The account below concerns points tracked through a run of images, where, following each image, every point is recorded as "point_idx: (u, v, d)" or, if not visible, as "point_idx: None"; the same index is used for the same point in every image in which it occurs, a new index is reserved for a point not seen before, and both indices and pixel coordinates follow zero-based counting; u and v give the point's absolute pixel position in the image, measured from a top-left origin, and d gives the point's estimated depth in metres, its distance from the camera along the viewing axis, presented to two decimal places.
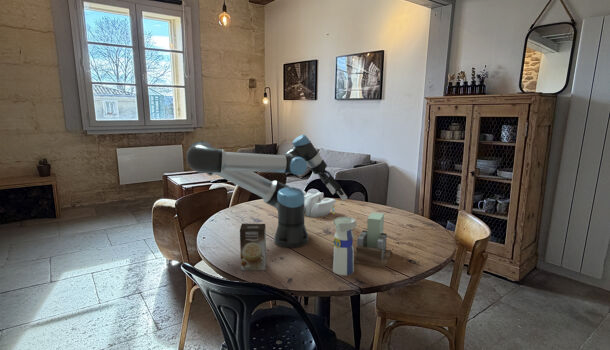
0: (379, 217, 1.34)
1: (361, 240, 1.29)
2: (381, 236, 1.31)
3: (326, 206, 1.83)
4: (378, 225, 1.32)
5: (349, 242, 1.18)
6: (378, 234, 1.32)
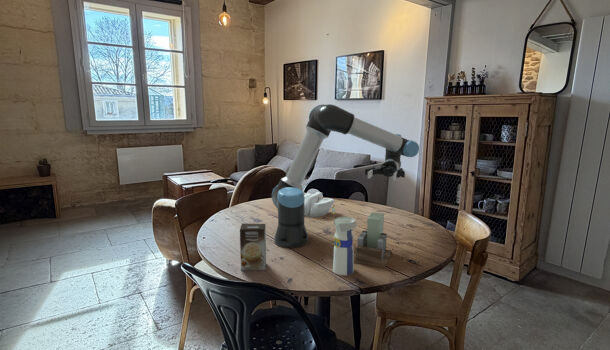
0: (379, 217, 1.34)
1: (361, 240, 1.29)
2: (381, 236, 1.31)
3: (325, 206, 1.83)
4: (378, 225, 1.32)
5: (349, 242, 1.18)
6: (378, 234, 1.32)
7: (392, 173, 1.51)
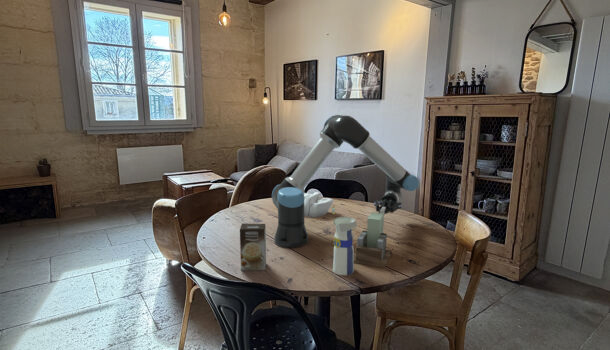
0: (379, 217, 1.34)
1: (361, 240, 1.29)
2: (381, 236, 1.31)
3: (324, 205, 1.84)
4: (378, 225, 1.32)
5: (349, 242, 1.18)
6: (378, 234, 1.32)
7: None
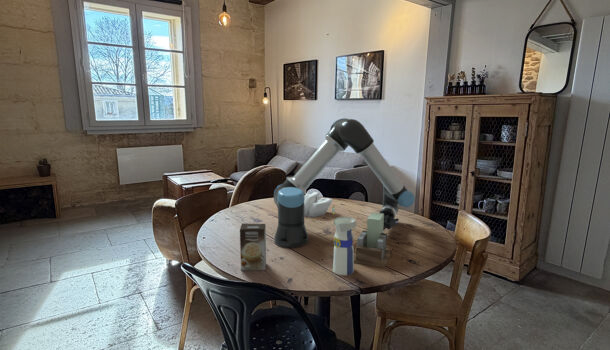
0: (379, 217, 1.34)
1: (361, 240, 1.29)
2: (381, 236, 1.31)
3: (324, 205, 1.84)
4: (378, 225, 1.31)
5: (349, 242, 1.18)
6: (378, 234, 1.32)
7: None
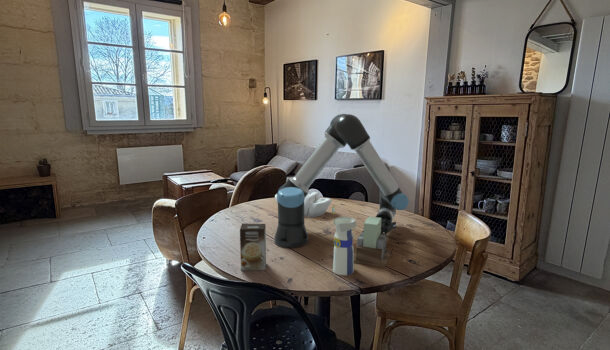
0: (376, 222, 1.28)
1: (361, 240, 1.29)
2: (381, 236, 1.31)
3: (323, 205, 1.84)
4: (375, 230, 1.26)
5: (349, 242, 1.18)
6: (375, 240, 1.26)
7: None
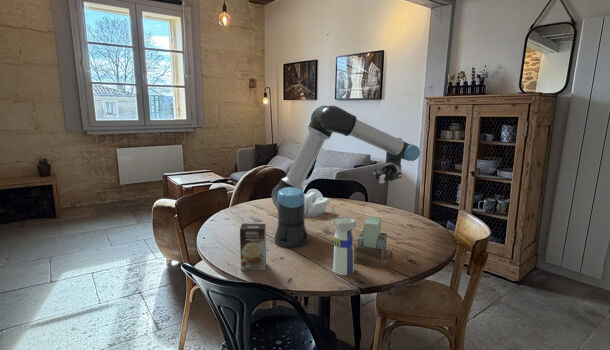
0: (376, 222, 1.28)
1: (361, 240, 1.29)
2: (381, 236, 1.31)
3: (322, 205, 1.84)
4: (375, 230, 1.26)
5: (349, 242, 1.18)
6: (375, 239, 1.27)
7: None
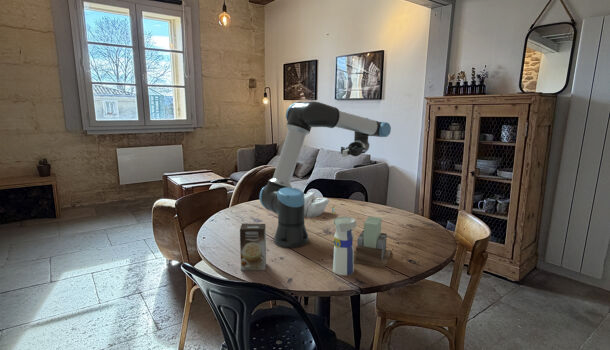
0: (376, 222, 1.28)
1: (361, 240, 1.29)
2: (381, 236, 1.31)
3: (322, 205, 1.84)
4: (375, 230, 1.26)
5: (349, 242, 1.18)
6: (375, 239, 1.27)
7: None
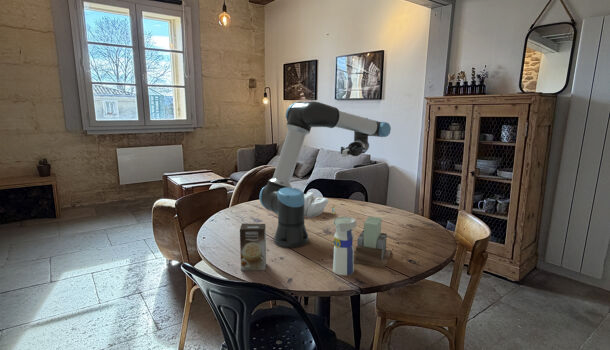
0: (376, 222, 1.28)
1: (361, 240, 1.29)
2: (381, 236, 1.31)
3: (322, 205, 1.85)
4: (375, 230, 1.26)
5: (349, 242, 1.18)
6: (375, 239, 1.27)
7: None
